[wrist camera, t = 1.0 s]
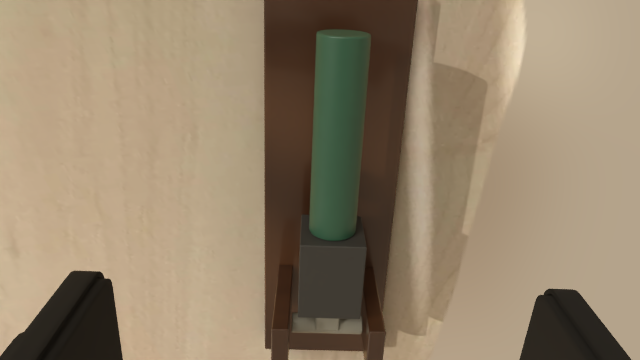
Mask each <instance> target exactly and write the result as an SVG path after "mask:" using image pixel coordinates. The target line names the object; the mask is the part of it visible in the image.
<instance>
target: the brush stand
mask: <svg viewBox="0 0 640 360" xmlns="http://www.w3.org/2000/svg"><path fill="white" fill-rule="evenodd" d="M417 2H418V0H264V91H265V348H266V349H271V360H288V355H289V349H298V350H338V351H363V353H364V360H383V352H384V344H385V336H386V331H385V326H384V321H383V315H382V311H383V302H384V293H385V285H386V276H387V267H388V258H389V249H390V240H391V232H392V223H393V214H394V205H395V196H396V187H397V178H398V170H399V161H400V152H401V143H402V134H403V125H404V117H405V108H406V99H407V90H408V81H409V72H410V64H411V55H412V46H413V37H414V28H415V19H416V10H417ZM330 29H342V30H355V31H362V32H366V33H369V34H370V35H371V47H370V60H369V72H368V85H367V97H366V110H365V122H364V134H363V147H362V159H361V172H360V184H359V197H358V209H357V216H360V217H361V218H362V224H363V229H364V235H365V241H366V246H367V252H366V263H365V274H364V285H363V295H362V306H361V315H362V319H363V329H362V334H329V333H293V332H292V331H291V328H292V313H293V312H298V285H299V251H300V230H301V215H310V190H311V163H312V137H313V110H314V84H315V58H316V34H317V32H318V31H321V30H330Z"/></svg>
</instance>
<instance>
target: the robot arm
mask: <svg viewBox="0 0 640 360" xmlns="http://www.w3.org/2000/svg"><path fill="white" fill-rule="evenodd" d="M0 360H123V358H122V351H121V344H120V337H119V329H118V322H117V315H116V308H115V301H114V293H113V286H112V282H111V280H110V279H104V276H103V274H102V273H101V272H95V271H72V272H71V273H70V274H69V275H68V276H67V278H66V279H65V280H64V281H63V283H62V284H61V285H60V287H59V288H58V289H57V290H56V292H55V293H54V294H53V296H52V297H51V298H50V299H49V301H48V302H47V303H46V305H45V306H44V307H43V308H42V310H41V311H40V312H39V314H38V315H37V316H36V317H35V319H34V320H33V321H32V323H31V324H30V325H29V326H28V328H27V329H26V330H25V332H23V333H21V334H19V335H18V336H17V337H16V338H15V339H14V340H13V341H12V342H11V343H10V345H9V346H8V347H7V349H6V350H5V351H4V352H3V354H2V355H1V356H0ZM520 360H631V359H630V357H629V356H628V355H627V354H626V352H625V351H624V350H623V348H622V347H621V346H620V345H619V343H618V342H617V341H616V339H615V338H614V337H613V336H612V335H611V333H610V332H609V331H608V329H607V328H606V327H605V325H604V324H603V323H602V322H601V320H600V319H599V318H598V317H597V315H596V314H595V313H594V311H593V310H592V309H591V308H590V306H589V305H588V304H587V302H586V301H585V300H584V299H583V297H582V296H581V295H580V294H579V293H578V292H577V291H576V290H567V289H548V290H546V291H545V293H544V295H539V296H538V297H537V299H536V302H535V305H534V309H533V312H532V316H531V320H530V324H529V327H528V331H527V335H526V338H525V342H524V345H523V349H522V353H521V356H520Z"/></svg>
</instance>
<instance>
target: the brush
mask: <svg viewBox="0 0 640 360" xmlns="http://www.w3.org/2000/svg"><path fill="white" fill-rule="evenodd" d="M370 47H371V35H370V34H369V33H366V32H362V31H355V30H342V29H330V30H321V31H318V32H317V34H316V58H315V84H314V110H313V137H312V163H311V190H310V215H301V230H300V251H299V285H298V312H293V313H292V328H291V331H292V332H293V333H329V334H362V329H363V319H362V315H361V306H362V295H363V285H364V274H365V263H366V252H367V246H366V241H365V235H364V229H363V224H362V218H361V217H360V216H357V209H358V197H359V184H360V172H361V159H362V147H363V134H364V122H365V110H366V97H367V85H368V72H369V60H370Z"/></svg>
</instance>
